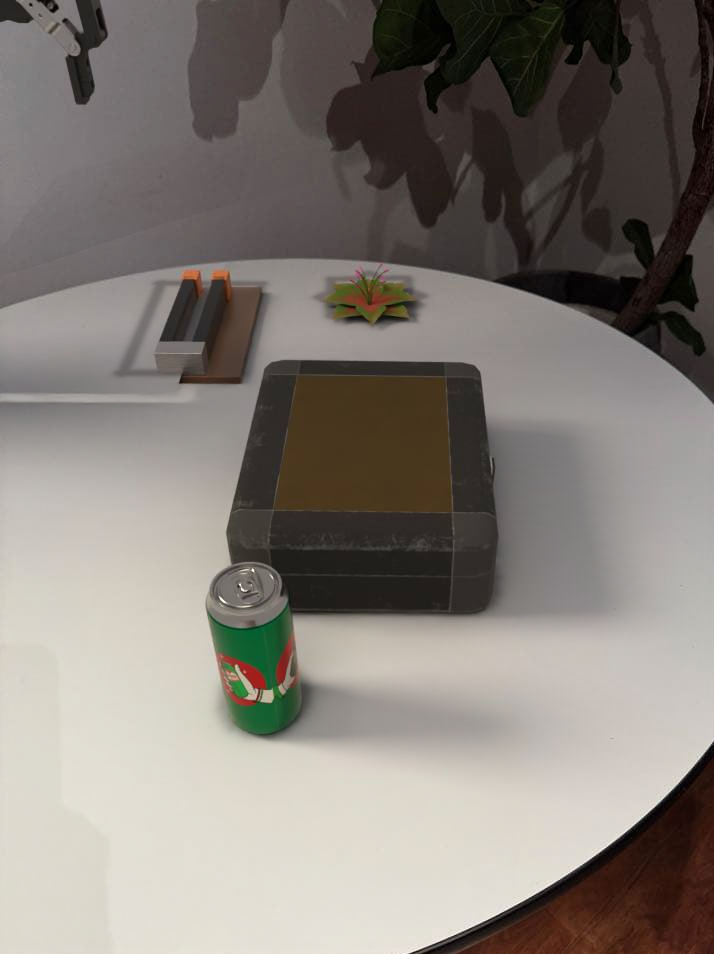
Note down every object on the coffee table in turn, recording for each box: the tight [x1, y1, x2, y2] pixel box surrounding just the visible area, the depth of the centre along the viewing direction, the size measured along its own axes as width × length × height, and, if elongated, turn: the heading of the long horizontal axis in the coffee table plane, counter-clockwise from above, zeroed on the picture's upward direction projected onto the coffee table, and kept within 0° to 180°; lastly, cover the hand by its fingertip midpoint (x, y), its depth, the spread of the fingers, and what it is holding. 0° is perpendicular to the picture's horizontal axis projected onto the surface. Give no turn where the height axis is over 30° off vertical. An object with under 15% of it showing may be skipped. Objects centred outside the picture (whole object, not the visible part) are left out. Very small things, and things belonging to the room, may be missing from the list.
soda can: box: [205, 562, 303, 735], centre depth 56 cm, size 5×5×12 cm
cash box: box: [225, 359, 499, 614], centre depth 73 cm, size 25×20×8 cm
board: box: [178, 286, 263, 384], centre depth 97 cm, size 12×20×1 cm, turn 1°
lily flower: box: [320, 263, 419, 326], centre depth 101 cm, size 12×12×5 cm
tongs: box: [153, 269, 233, 376], centre depth 96 cm, size 19×5×3 cm, turn 1°
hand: (33, 101), depth 74 cm, fingers open, 8 cm apart
